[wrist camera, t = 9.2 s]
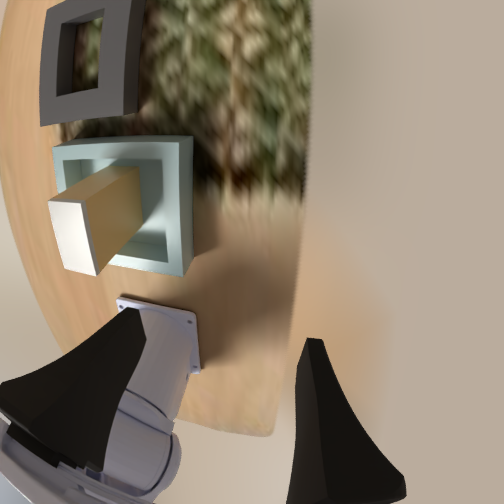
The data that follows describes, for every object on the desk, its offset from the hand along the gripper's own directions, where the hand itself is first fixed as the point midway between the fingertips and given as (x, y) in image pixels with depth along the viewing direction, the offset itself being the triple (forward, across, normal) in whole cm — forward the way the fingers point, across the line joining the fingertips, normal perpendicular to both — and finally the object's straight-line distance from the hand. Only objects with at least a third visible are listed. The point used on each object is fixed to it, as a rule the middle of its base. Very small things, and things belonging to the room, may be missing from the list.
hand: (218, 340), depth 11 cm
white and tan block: (+9, +9, -2) cm, 13 cm away
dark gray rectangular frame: (+9, +12, -13) cm, 20 cm away
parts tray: (+9, +9, -2) cm, 13 cm away
